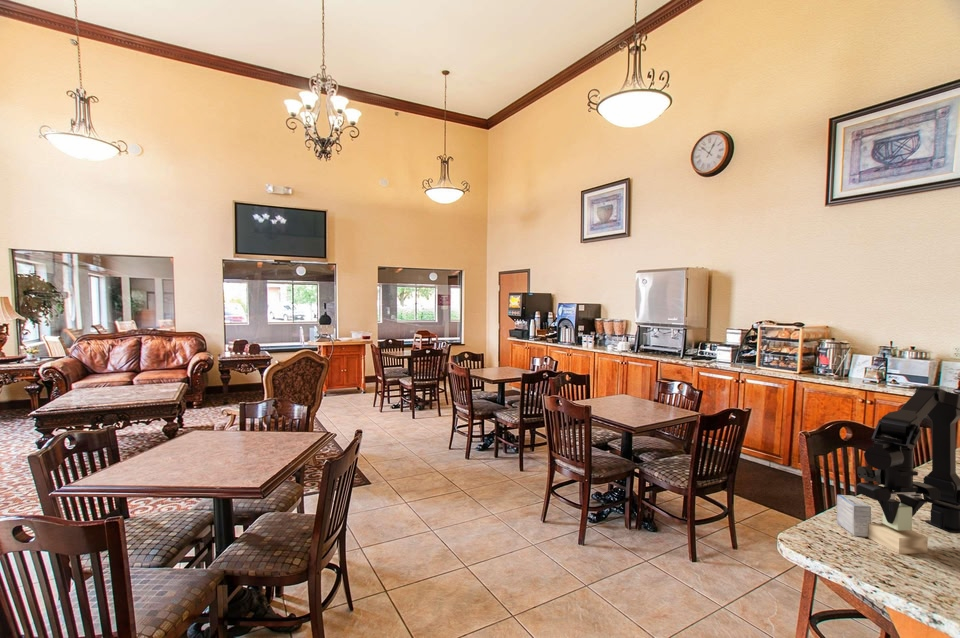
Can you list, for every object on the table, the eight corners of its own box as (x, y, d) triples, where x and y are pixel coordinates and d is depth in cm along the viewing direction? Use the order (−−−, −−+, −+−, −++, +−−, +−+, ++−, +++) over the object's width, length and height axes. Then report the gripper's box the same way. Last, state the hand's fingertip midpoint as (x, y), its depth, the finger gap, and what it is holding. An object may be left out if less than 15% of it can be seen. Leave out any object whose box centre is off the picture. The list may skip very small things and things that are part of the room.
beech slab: (895, 537, 120) (895, 523, 120) (927, 552, 112) (927, 537, 112) (868, 538, 119) (868, 523, 119) (899, 553, 111) (899, 538, 111)
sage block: (896, 522, 118) (896, 500, 118) (911, 529, 114) (912, 507, 114) (882, 523, 117) (882, 501, 118) (897, 530, 114) (898, 507, 114)
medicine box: (871, 538, 119) (872, 506, 119) (853, 536, 120) (853, 505, 120) (853, 525, 127) (853, 495, 127) (836, 523, 128) (836, 494, 128)
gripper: (898, 454, 124) (898, 509, 124) (838, 455, 123) (837, 510, 123) (943, 468, 113) (942, 527, 113) (877, 468, 112) (876, 529, 112)
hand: (897, 522), depth 116 cm, fingers closed on sage block, 4 cm apart
